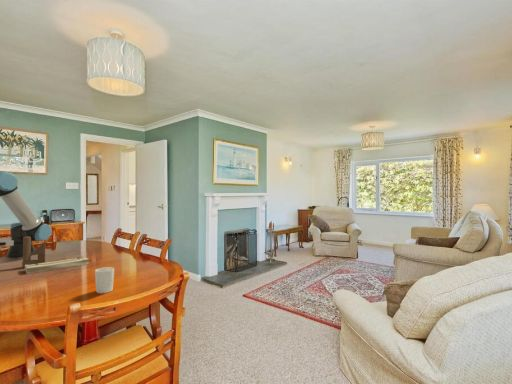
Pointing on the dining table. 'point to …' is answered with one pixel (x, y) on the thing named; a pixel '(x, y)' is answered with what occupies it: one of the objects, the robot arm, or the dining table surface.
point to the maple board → (56, 265)
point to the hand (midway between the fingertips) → (12, 241)
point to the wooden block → (27, 252)
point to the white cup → (104, 279)
